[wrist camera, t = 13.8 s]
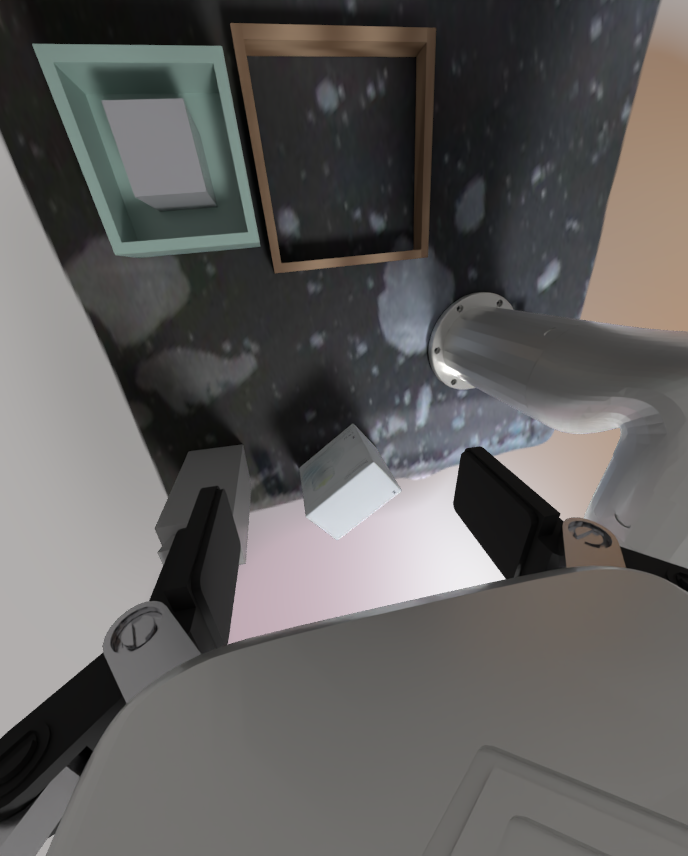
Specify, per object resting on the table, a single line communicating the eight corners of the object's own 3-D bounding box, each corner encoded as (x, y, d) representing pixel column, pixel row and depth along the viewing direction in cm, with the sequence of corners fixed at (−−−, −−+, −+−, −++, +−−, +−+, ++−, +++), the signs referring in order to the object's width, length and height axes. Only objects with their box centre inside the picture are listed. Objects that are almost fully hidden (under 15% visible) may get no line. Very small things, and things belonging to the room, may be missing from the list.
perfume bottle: (251, 484, 43) (242, 604, 27) (201, 492, 42) (162, 623, 26) (242, 444, 40) (227, 553, 24) (188, 451, 39) (135, 571, 23)
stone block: (200, 134, 25) (182, 98, 20) (217, 207, 28) (206, 191, 22) (136, 137, 24) (101, 100, 19) (160, 211, 27) (134, 196, 22)
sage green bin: (229, 85, 25) (221, 46, 21) (260, 246, 31) (259, 242, 26) (75, 86, 23) (31, 43, 19) (138, 257, 29) (115, 254, 24)
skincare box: (351, 420, 42) (374, 461, 33) (376, 448, 45) (404, 491, 36) (296, 467, 43) (304, 518, 34) (325, 490, 47) (339, 543, 37)
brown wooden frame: (425, 43, 27) (436, 27, 25) (419, 258, 34) (427, 257, 33) (232, 41, 24) (230, 23, 22) (274, 273, 32) (274, 273, 30)
